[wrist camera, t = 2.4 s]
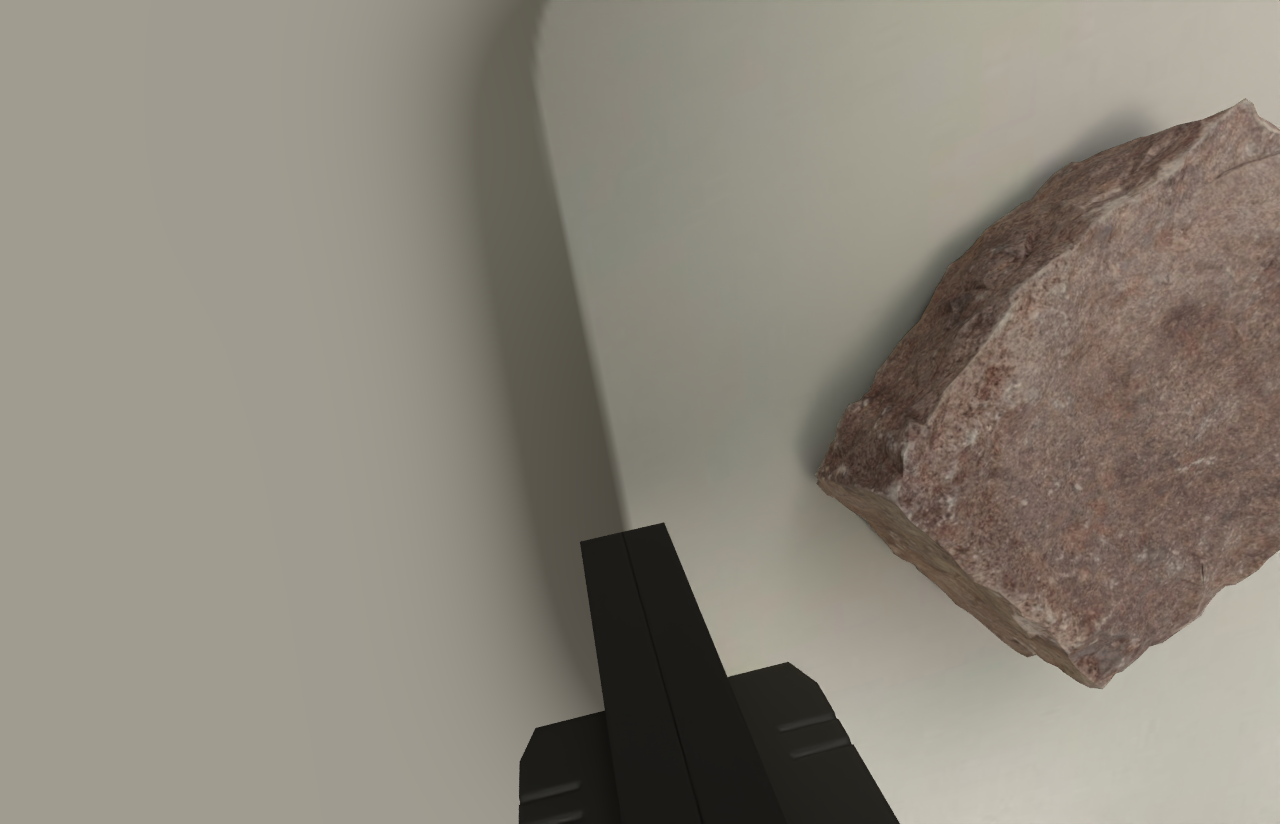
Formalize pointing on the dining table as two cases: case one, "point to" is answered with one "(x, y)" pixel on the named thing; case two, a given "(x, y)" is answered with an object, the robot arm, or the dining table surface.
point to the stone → (1091, 402)
